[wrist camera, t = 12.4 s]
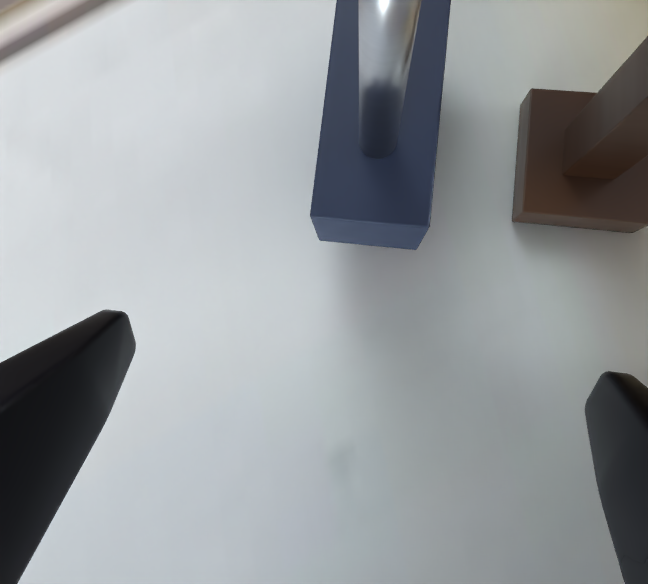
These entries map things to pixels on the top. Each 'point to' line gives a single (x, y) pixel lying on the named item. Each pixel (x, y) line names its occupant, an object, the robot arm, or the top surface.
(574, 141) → the brown hanging stand
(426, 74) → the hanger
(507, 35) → the top surface
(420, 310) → the top surface
